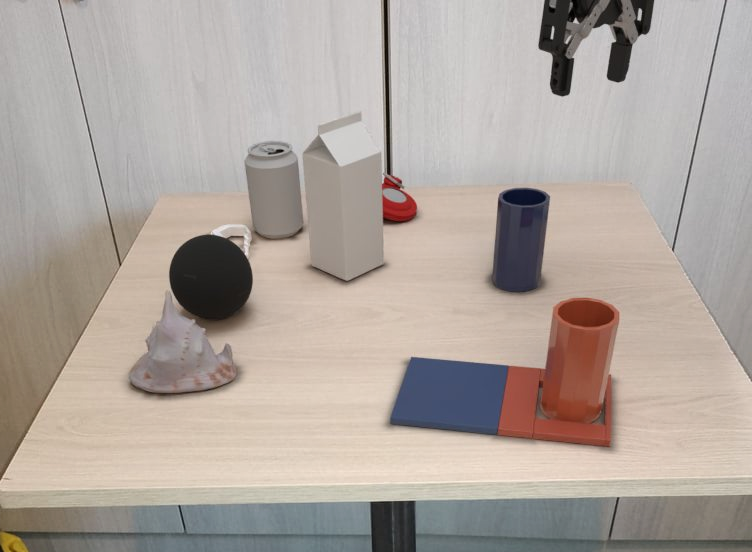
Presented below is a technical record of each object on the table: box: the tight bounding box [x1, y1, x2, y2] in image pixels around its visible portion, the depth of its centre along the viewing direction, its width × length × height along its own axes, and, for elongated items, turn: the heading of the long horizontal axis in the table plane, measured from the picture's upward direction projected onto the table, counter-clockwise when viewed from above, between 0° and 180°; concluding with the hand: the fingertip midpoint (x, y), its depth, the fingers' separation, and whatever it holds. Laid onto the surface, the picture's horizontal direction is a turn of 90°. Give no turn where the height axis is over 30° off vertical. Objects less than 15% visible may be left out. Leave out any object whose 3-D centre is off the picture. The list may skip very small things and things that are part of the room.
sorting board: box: [389, 356, 612, 447], centre depth 86 cm, size 22×12×1 cm, turn 77°
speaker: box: [168, 234, 254, 321], centre depth 98 cm, size 10×10×10 cm
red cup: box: [539, 297, 621, 424], centre depth 81 cm, size 6×6×11 cm
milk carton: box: [301, 110, 385, 282], centre depth 105 cm, size 7×7×19 cm
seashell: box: [128, 289, 238, 394], centre depth 89 cm, size 10×12×9 cm
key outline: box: [210, 223, 253, 260], centre depth 116 cm, size 13×5×2 cm, turn 23°
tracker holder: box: [382, 171, 418, 222], centre depth 124 cm, size 12×4×10 cm
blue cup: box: [491, 187, 551, 293], centre depth 102 cm, size 6×6×11 cm
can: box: [244, 140, 304, 240], centre depth 117 cm, size 8×8×12 cm
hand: (588, 87), depth 90 cm, fingers open, 8 cm apart
